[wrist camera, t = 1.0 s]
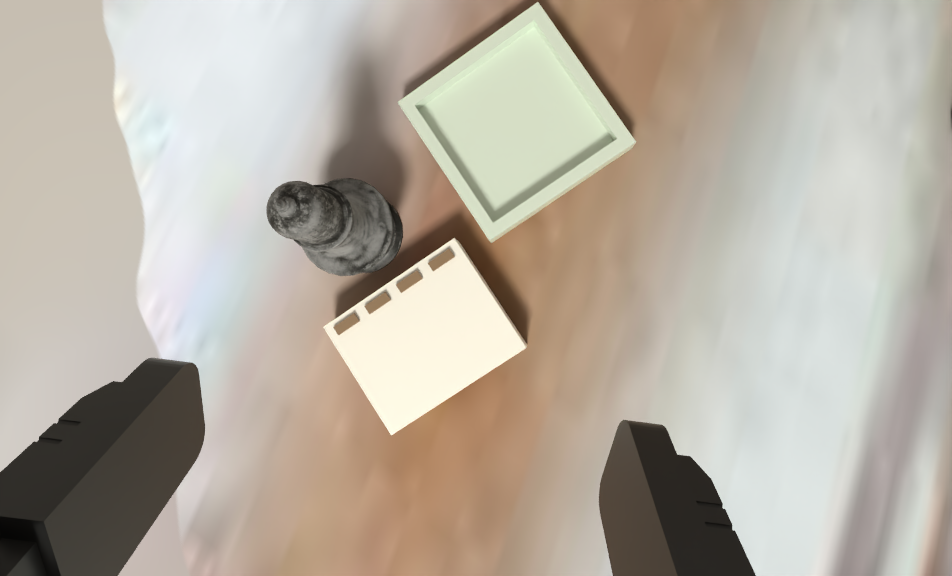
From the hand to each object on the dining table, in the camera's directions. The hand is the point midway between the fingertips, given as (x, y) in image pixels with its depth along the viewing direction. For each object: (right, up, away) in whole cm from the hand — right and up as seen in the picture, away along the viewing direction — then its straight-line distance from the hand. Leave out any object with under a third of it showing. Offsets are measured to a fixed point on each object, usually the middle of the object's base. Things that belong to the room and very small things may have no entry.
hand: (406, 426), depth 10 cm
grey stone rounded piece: (-6, +6, +26) cm, 27 cm away
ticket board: (-2, 0, +25) cm, 25 cm away
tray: (+4, +13, +25) cm, 28 cm away
